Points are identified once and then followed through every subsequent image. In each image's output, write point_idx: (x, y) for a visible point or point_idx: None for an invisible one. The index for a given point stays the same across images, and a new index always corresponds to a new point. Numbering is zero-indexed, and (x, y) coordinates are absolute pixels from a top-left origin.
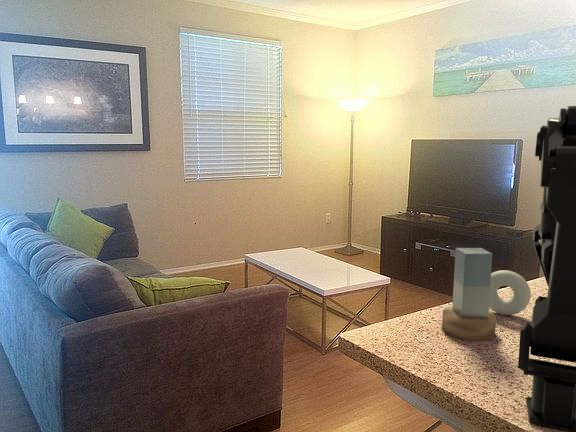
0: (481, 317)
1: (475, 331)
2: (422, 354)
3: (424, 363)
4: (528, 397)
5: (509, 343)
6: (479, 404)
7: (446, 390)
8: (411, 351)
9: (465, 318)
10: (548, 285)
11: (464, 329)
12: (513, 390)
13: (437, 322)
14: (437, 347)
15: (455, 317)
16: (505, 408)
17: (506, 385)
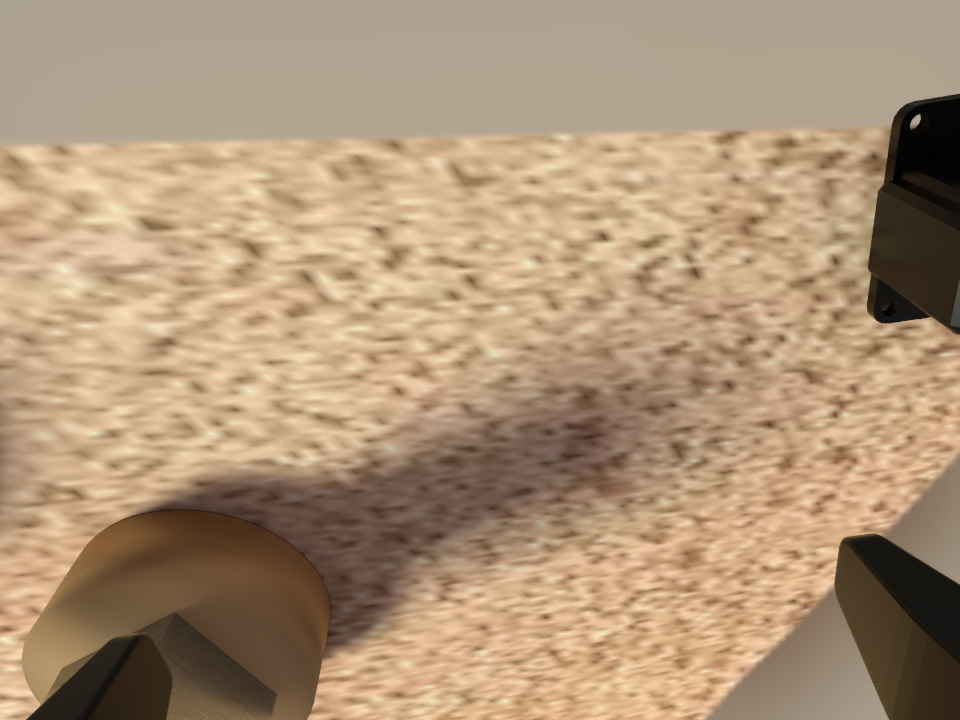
0: (198, 642)
1: (302, 603)
2: (583, 671)
3: (663, 650)
4: (879, 315)
5: (225, 443)
6: (945, 454)
7: None
8: (576, 700)
9: (262, 685)
10: (167, 692)
11: (320, 641)
12: (778, 367)
13: None
14: (484, 650)
15: (276, 714)
16: (955, 375)
17: (739, 396)
